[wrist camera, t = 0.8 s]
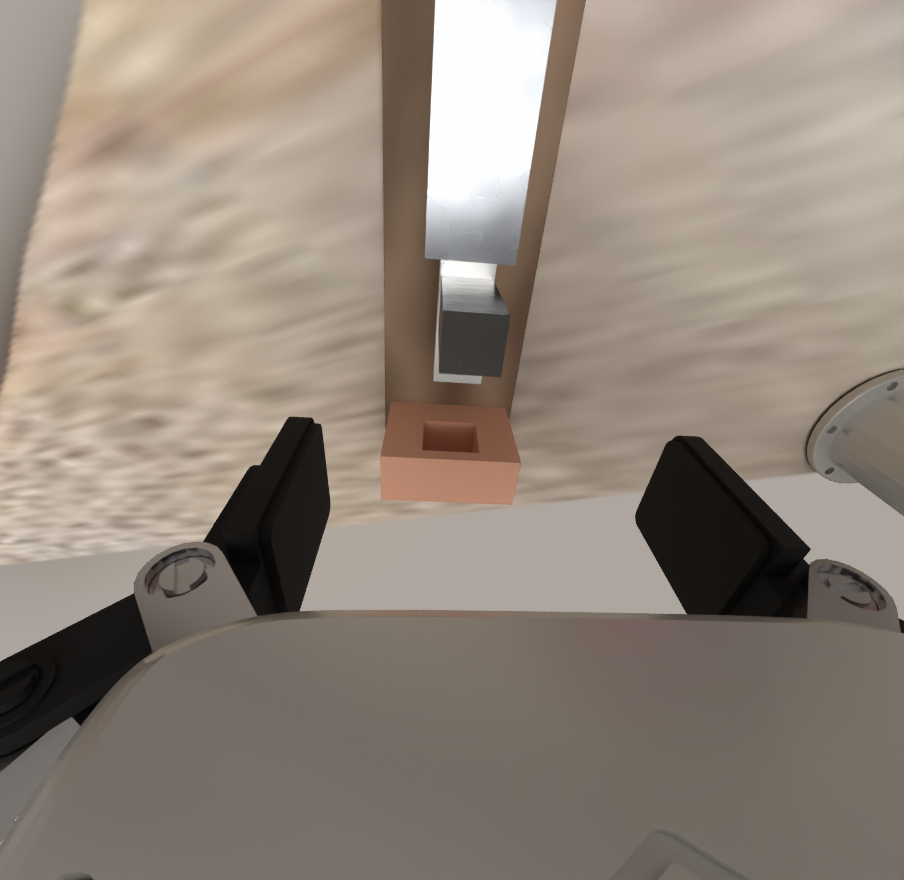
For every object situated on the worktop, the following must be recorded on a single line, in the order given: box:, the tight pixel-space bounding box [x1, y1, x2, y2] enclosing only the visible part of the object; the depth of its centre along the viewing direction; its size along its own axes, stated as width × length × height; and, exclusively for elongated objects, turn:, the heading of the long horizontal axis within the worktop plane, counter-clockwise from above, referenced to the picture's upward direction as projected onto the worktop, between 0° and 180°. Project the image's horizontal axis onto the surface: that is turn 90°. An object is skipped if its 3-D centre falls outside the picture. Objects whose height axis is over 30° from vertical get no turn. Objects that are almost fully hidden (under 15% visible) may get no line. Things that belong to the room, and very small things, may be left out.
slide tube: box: [433, 260, 511, 384], centre depth 21 cm, size 3×19×10 cm, turn 175°
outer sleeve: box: [425, 0, 557, 266], centre depth 22 cm, size 5×12×8 cm, turn 175°
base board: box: [382, 0, 586, 426], centre depth 31 cm, size 11×30×2 cm, turn 175°
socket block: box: [380, 402, 521, 505], centre depth 34 cm, size 10×4×8 cm, turn 85°
